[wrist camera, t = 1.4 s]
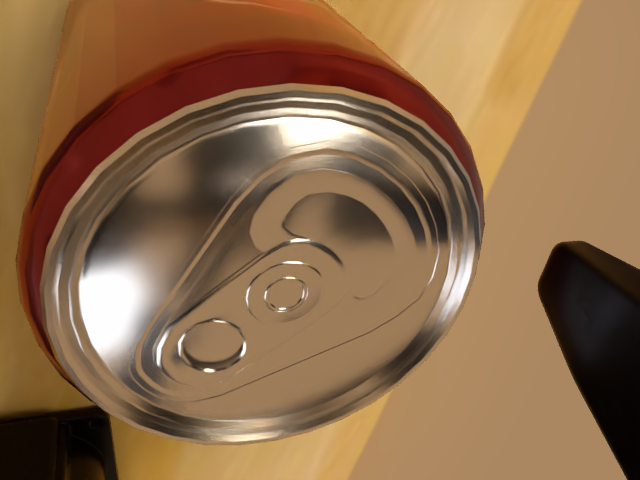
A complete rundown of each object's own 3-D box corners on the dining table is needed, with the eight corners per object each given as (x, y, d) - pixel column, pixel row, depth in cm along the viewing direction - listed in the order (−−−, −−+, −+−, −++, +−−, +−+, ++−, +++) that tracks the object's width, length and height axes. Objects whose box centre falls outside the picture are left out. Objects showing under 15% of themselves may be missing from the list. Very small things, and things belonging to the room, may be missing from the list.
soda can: (223, -140, 16) (391, -75, 7) (346, 81, 20) (552, 309, 11) (4, 17, 17) (-134, 285, 7) (169, 198, 21) (219, 511, 12)
